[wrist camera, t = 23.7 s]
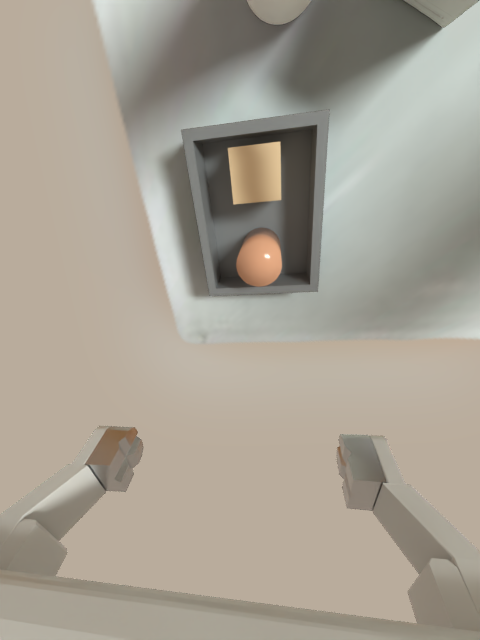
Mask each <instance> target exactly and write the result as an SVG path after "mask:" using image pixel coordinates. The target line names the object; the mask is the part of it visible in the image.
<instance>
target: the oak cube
mask: <svg viewBox="0 0 480 640" xmlns="http://www.w3.org/2000/svg"><path fill="white" fill-rule="evenodd" d="M228 155H229V165H230V175H231V185H232V195H233V204H244V203H255V202H266V201H276V200H281V145H280V142H272V143H264V144H256V145H248V146H240V147H231V148H228Z"/></svg>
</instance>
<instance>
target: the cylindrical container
mask: <svg viewBox="0 0 480 640" xmlns="http://www.w3.org/2000/svg"><path fill="white" fill-rule="evenodd" d="M247 2H248V4H249V6H250V8H251V9H252V11H253V12H254V14H255V15H256V16H257V17H258V18H260V19H261V20H262V21H264V22H266V23H268V24H273V25H282V24H286V23H288V22H291V21H292V20H294V19H295V18H297V17H298V16H299V15H300V14H301V13H302V12H303V11H304V10H305V9H306V7H307V6H308V5H309V3H310V2H311V0H247Z"/></svg>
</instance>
